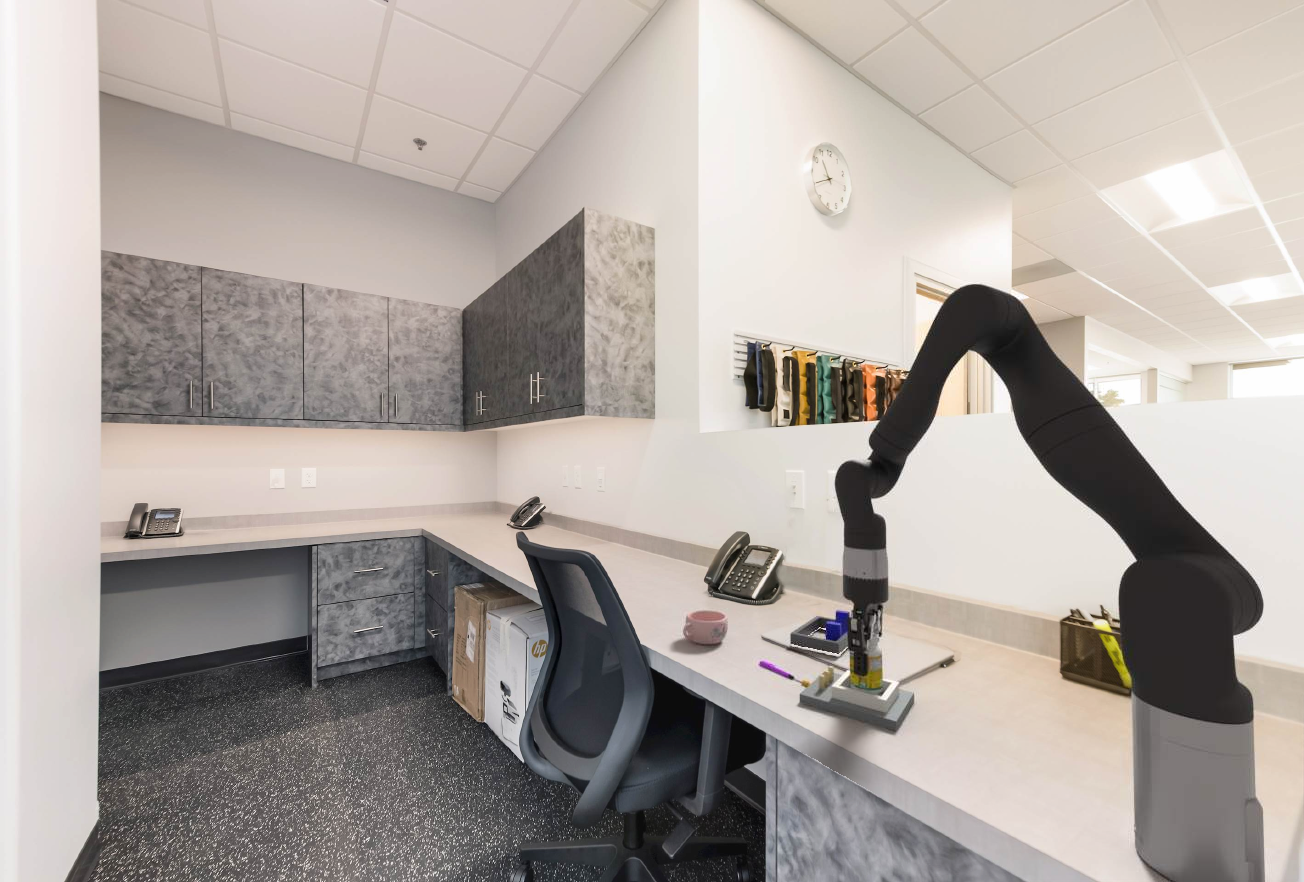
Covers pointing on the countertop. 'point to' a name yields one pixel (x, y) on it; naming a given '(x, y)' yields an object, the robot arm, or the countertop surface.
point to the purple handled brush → (782, 672)
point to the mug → (706, 626)
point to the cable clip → (837, 626)
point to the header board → (858, 699)
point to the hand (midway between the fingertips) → (866, 668)
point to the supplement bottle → (869, 670)
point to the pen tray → (804, 640)
